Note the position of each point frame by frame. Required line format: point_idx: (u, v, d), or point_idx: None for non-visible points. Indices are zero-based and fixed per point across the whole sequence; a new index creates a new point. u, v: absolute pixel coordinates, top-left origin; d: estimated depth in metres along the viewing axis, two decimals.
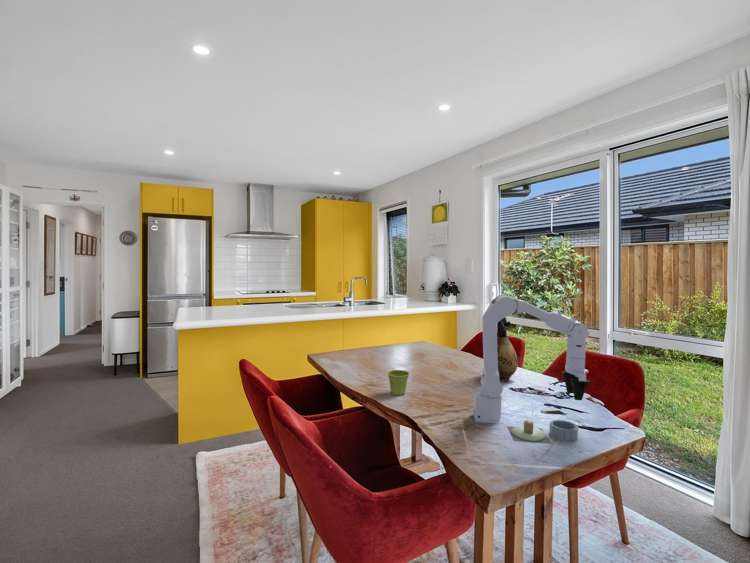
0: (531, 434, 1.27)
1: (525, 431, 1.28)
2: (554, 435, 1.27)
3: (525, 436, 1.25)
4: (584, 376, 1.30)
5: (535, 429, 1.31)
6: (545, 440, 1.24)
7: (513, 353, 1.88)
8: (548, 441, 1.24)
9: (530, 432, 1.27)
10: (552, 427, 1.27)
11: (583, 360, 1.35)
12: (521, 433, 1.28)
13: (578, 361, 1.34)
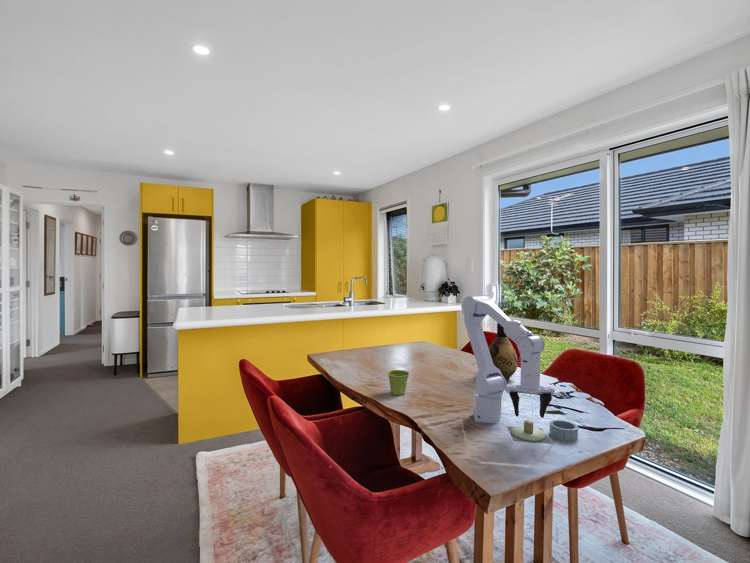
0: (531, 434, 1.27)
1: (525, 431, 1.28)
2: (554, 435, 1.27)
3: (525, 436, 1.25)
4: (506, 387, 1.28)
5: (535, 429, 1.31)
6: (545, 440, 1.24)
7: (513, 353, 1.88)
8: (548, 441, 1.24)
9: (530, 432, 1.27)
10: (552, 427, 1.27)
11: (524, 376, 1.26)
12: (521, 433, 1.28)
13: None
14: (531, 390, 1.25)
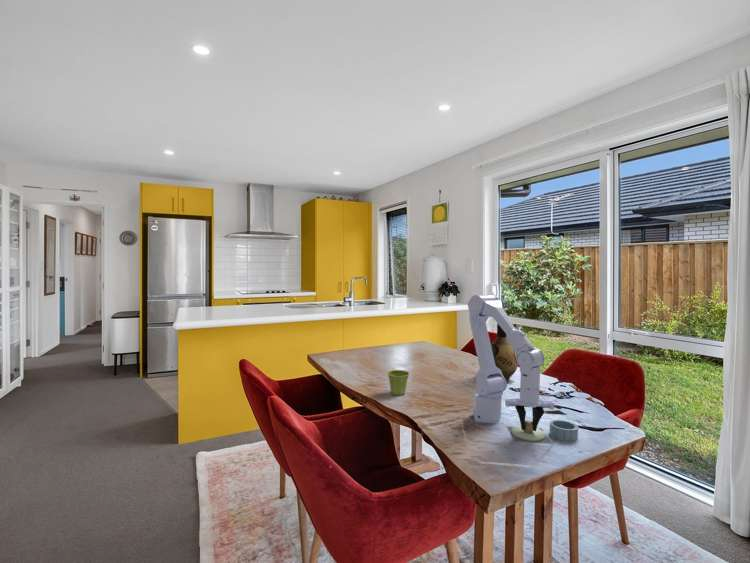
0: (531, 434, 1.27)
1: (525, 431, 1.28)
2: (554, 435, 1.27)
3: (525, 436, 1.25)
4: (506, 401, 1.29)
5: None
6: (545, 440, 1.24)
7: (513, 353, 1.88)
8: (548, 441, 1.24)
9: (530, 432, 1.27)
10: (552, 427, 1.27)
11: (523, 390, 1.27)
12: (521, 432, 1.28)
13: (520, 389, 1.28)
14: (530, 404, 1.25)
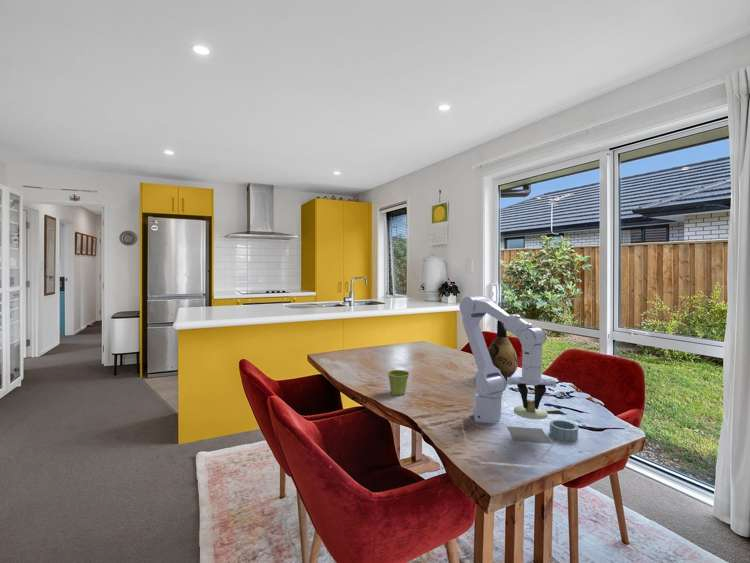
0: (533, 412, 1.26)
1: (527, 410, 1.28)
2: (554, 435, 1.27)
3: (527, 414, 1.25)
4: (508, 379, 1.28)
5: None
6: (545, 440, 1.24)
7: (513, 353, 1.88)
8: (548, 441, 1.24)
9: (532, 411, 1.27)
10: (552, 427, 1.27)
11: (525, 368, 1.26)
12: (523, 411, 1.27)
13: (522, 368, 1.28)
14: (532, 382, 1.25)
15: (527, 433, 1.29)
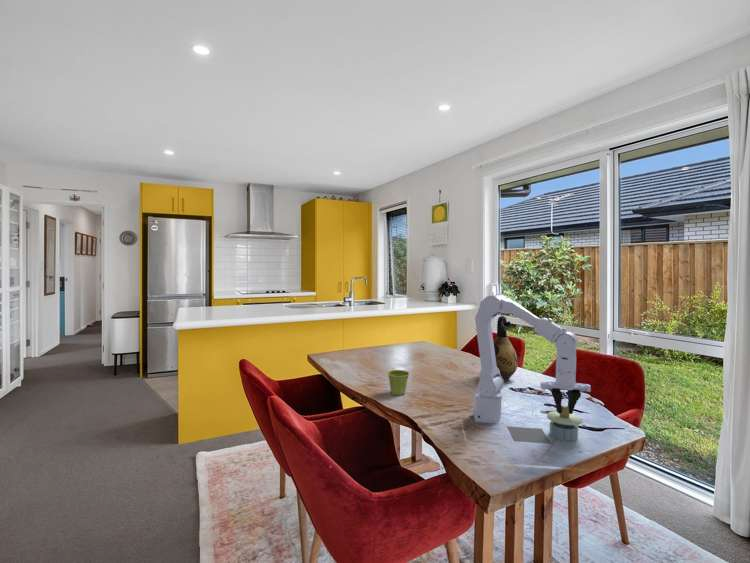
0: (568, 418, 1.26)
1: (561, 416, 1.27)
2: (554, 435, 1.27)
3: (562, 420, 1.25)
4: (541, 384, 1.28)
5: (570, 414, 1.30)
6: (545, 440, 1.24)
7: (513, 353, 1.88)
8: (548, 441, 1.24)
9: (566, 416, 1.27)
10: (552, 427, 1.27)
11: (560, 373, 1.26)
12: (557, 417, 1.27)
13: (556, 372, 1.28)
14: (567, 387, 1.24)
15: (527, 433, 1.29)
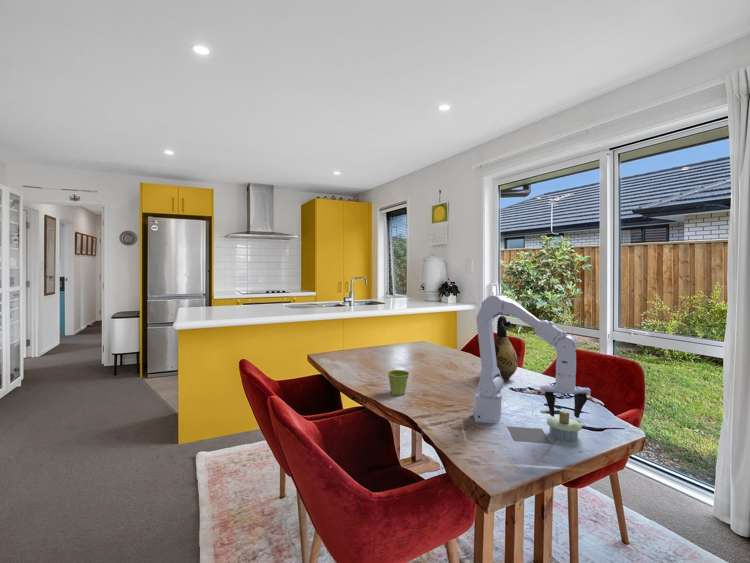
0: (567, 424, 1.26)
1: (561, 421, 1.27)
2: (554, 435, 1.27)
3: (562, 426, 1.25)
4: (541, 387, 1.28)
5: (570, 420, 1.30)
6: (545, 440, 1.24)
7: (513, 353, 1.88)
8: (548, 441, 1.24)
9: (566, 422, 1.27)
10: (552, 427, 1.27)
11: (560, 377, 1.26)
12: (557, 423, 1.27)
13: (556, 376, 1.28)
14: (567, 390, 1.24)
15: (527, 433, 1.29)
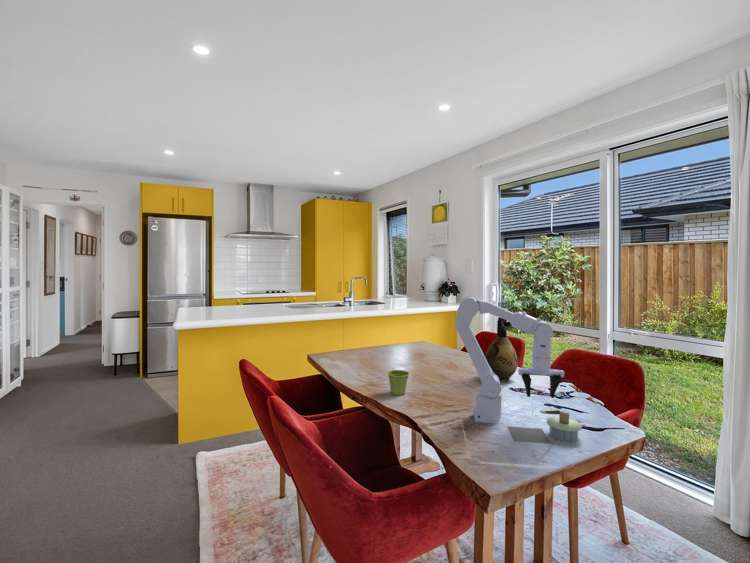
0: (567, 424, 1.26)
1: (561, 421, 1.27)
2: (554, 435, 1.27)
3: (562, 426, 1.25)
4: (519, 370, 1.38)
5: (570, 420, 1.30)
6: (545, 440, 1.24)
7: (513, 353, 1.88)
8: (548, 441, 1.24)
9: (566, 422, 1.27)
10: (552, 427, 1.27)
11: (536, 359, 1.35)
12: (557, 423, 1.27)
13: (532, 359, 1.37)
14: (542, 372, 1.34)
15: (527, 433, 1.29)
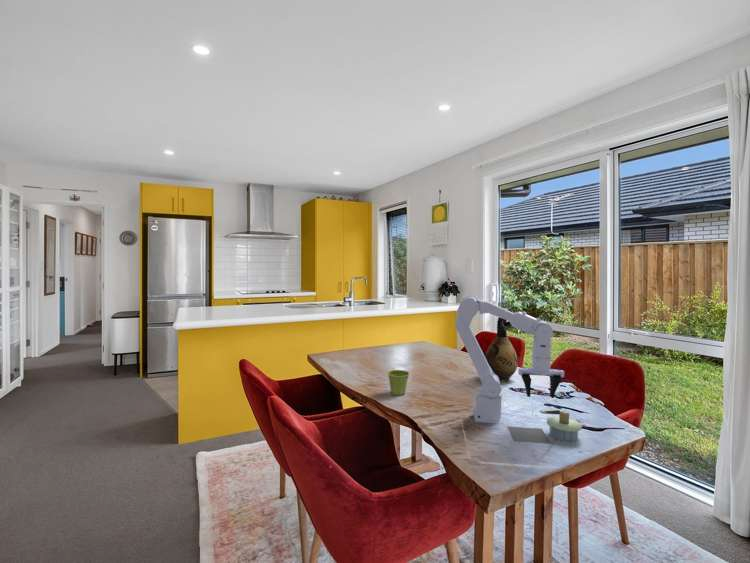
0: (567, 424, 1.26)
1: (561, 421, 1.27)
2: (554, 435, 1.27)
3: (562, 426, 1.25)
4: (519, 370, 1.38)
5: (570, 420, 1.30)
6: (545, 440, 1.24)
7: (513, 353, 1.88)
8: (548, 441, 1.24)
9: (566, 422, 1.27)
10: (552, 427, 1.27)
11: (536, 359, 1.35)
12: (557, 423, 1.27)
13: (532, 359, 1.37)
14: (542, 372, 1.34)
15: (527, 433, 1.29)
